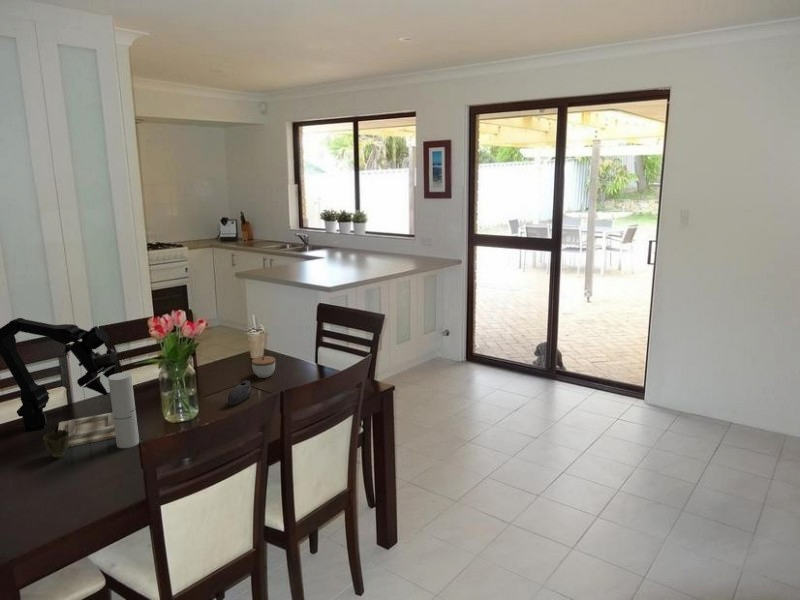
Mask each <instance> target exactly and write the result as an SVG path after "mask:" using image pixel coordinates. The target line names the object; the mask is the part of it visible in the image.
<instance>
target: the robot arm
mask: <svg viewBox="0 0 800 600" xmlns="http://www.w3.org/2000/svg"><path fill="white" fill-rule="evenodd" d="M20 332H21V333H26V334H32V335H37V336H41V337H46V338H50V339H52V340H53V341H54V342H56V343H59V344H63V345H65V348H64V354H67V353H69V352H70V353H72V355H74V357H75V358H76V359H77V360H78V362H79V363H78V364H77V365H78V366H79V367H81V366H82V367H83V368H84V370H86V372H85V373H84V375H82V376H80V378H78V379H76V380H77V381H76V383H77V385H78V387H80V388H82V387H83V388H87V389H90V390H92V391H95V392H96V393H98V394H101V395H103V396H107V395H108V391H107V390H106V388H105V386H104V385H103V383H102V382H101V375H99V374H101V373H102V375H103V376H104V377H105V378H106V379H108V377H109V376H111V375H113V374H117V373H118V371H117V369H118V366H119V362H120V361H119V359H118V358H117V355H118V353H117V352H116V350H115V349H113V348H109V349H107V350H106V352H105V353H102V354H100V352H99V351H97V352H95V350H97V349H98V348H100V347H101V346H103V345H105V343H107V342H109V340H110V337H109V334H108V333H107V331H106V330H104V329H102V328H99V327H98V326H97V325H96V326H94V327H92V328H90V330H85V329H83V328H80V327H79V326H78V325H76V324H73V323H72V324H71V323H70V324H66V323H65V324H51V323H45V322H41V321H37V320H36V321H35V320H30V319H25V318H23V317H18V318H14V319H12V320H10V321H9V322H8V323H6V324H5V325H3V326H2V327H0V357H1V358H2V359H3V361H4V363H5V365H6V367H7V369H8V370H9V372H10V374H11V376H12V377H13V378H14V380H15V382H16V384H17V386H18V388H19V389H20V398H19V399H20V402H21V404H22V405H21V406H20V407H19V408H18V409H17V410H16V413H17V415H18V417H19V418H20V417H21V418H22V422H23V432H24V433H25V432H27V433H28V432H33V431H38V430H43V429H45V427H46V425H47V415H46V412H44V409H45V408H46V407H47V404H48V403H49V401H50V396H49V395H50V393H49V391H47V389H46V386H45V385H44V384H42V385H39V384H37V383H36V382H35V380H34V379H33V378H34V377H32V375H31V373H30V371H29V370H28V368H27V365H25V363H24V361H23V359H22V357H21V355H20V353H19V352H18V350H17V339H16V336H15V335H16V334H19V333H20Z"/></svg>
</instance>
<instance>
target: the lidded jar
mask: <svg viewBox="0 0 800 600" xmlns="http://www.w3.org/2000/svg"><path fill="white" fill-rule="evenodd" d="M251 366H252V367H251V368H252V370H253V371H252V372H253V373H254V374H255V375H256V376H257V377H258V378H262V379H264V378H265V379H266V378H269V376H270V377H271V376H272V375H273V373H274V372H275V370H276V369H275V368H276V358H275V357H274V356H271V355H270V356H269V355H263V356H258V357H255V358H253V359H251Z"/></svg>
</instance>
